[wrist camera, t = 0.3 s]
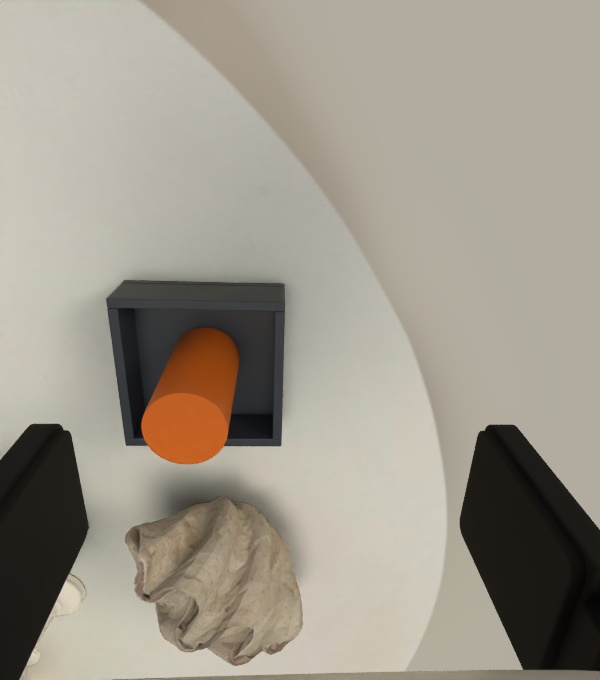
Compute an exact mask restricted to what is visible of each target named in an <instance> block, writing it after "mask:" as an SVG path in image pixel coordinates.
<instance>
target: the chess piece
mask: <svg viewBox="0 0 600 680" xmlns="http://www.w3.org/2000/svg"><path fill="white" fill-rule="evenodd" d="M84 597H85V589H84V587H83V585H82V583H81V582H80V581H79V580H78V579H77V578H75V577H74V576H72V575H70V574H69V575H68V577H67V579H66V581H65V583H64V586H63V588H62V590H61V592H60V594H59V596H58V598H57V600H56V603H55V605H54V607H53V609H52V611H51V613H50V615H49V618H48V620H47V622H46V624H45V626H44V628H43V630H42V633H41V635H40V637H39V639H38V641H37V643H36V645H35V648H36V646H37V645H38V643H39V641H40V639H41V638H42V636H43V634H44V633H45V631H46V629H47V628H48V626H49V624H50V623H51V621H52V620H53V618H54V617H55V616H64V615H68V614H70V613H72V612H74V611H75V610H77V609H78V608H79V606H80V604H81V602H82V601H83V599H84ZM35 648H34V650H33V652H32V654H31V656H30V658H29V660H28V662H27V665H26V667H25V669H24V671H23V673H22V675H21V677H20V680H26V675H27V668H28V666H31V665H34V664H35V663H36V662H37V661H38V660H39V658H40V653H39V652H38V650H37V649H35Z"/></svg>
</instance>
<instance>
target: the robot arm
mask: <svg viewBox="0 0 600 680" xmlns="http://www.w3.org/2000/svg"><path fill="white" fill-rule="evenodd" d="M460 529H461V534H462V536H463V538H464V541H465V543H466V545H467V547H468V549H469V551H470V554H471V556H472V558H473V560H474V563H475V565H476V567H477V569H478V571H479V573H480V576H481V578H482V580H483V582H484V584H485V587H486V589H487V591H488V593H489V595H490V598H491V600H492V602H493V604H494V606H495V609H496V611H497V613H498V615H499V617H500V619H501V622H502V624H503V626H504V628H505V630H506V632H507V635H508V637H509V639H510V641H511V644H512V646H513V648H514V650H515V652H516V655H517V657H518V659H519V661H520V663H521V666H522V668H523V670H471V671H470V670H469V671H467V670H466V671H418V672H366V673H325V674H285V675H248V676H210V677H177V678H146V679H114V680H600V530H599V528H598V527H597V526H596V525H595V524H594V522H593V521H592V520H591V518H590V517H589V516H588V515H587V514H586V512H585V511H584V510H583V509H582V507H581V506H580V505H579V504H578V502H577V501H576V500H575V499H574V497H573V496H572V495H571V494H570V493H569V492H568V490H567V489H566V487H565V486H564V485H563V484H562V483H561V481H560V480H559V479H558V478H557V476H556V475H555V474H554V473H553V471H552V470H551V469H550V468H549V467H548V465H547V464H546V463H545V461H544V460H543V459H542V458H541V456H540V455H539V454H538V453H537V452H536V450H535V449H534V448H533V446H532V445H531V444H530V443H529V442H528V440H527V439H526V438H525V437H524V435H523V434H522V433H521V432H520V430H519V429H518V428H517V427H516V426H515V425H489V426H487V427H486V429H485V431H480V432H479V434H478V437H477V441H476V446H475V451H474V455H473V460H472V464H471V469H470V474H469V479H468V483H467V488H466V492H465V497H464V502H463V506H462V511H461V516H460ZM87 530H88V520H87V515H86V510H85V505H84V500H83V494H82V489H81V484H80V479H79V473H78V468H77V463H76V458H75V452H74V447H73V442H72V437H71V433H70V432H69V431H64V430H63V428H62V426H61V425H59V424H32V425H30V426H29V427H28V428H27V429H26V430H25V431H24V433H23V434H22V435H21V436H20V437H19V439H18V440H17V441H16V442H15V443H14V445H13V446H12V447H11V448H10V449H9V451H8V452H7V453H6V454H5V455H4V456H3V458H2V459H1V460H0V680H20V677H21V675H22V673H23V671H24V669H25V667H26V665H27V662H28V660H29V658H30V656H31V654H32V652H33V650H34V648H35V645H36V643H37V641H38V639H39V637H40V635H41V633H42V630H43V628H44V626H45V624H46V622H47V620H48V618H49V615H50V613H51V611H52V609H53V607H54V605H55V603H56V600H57V598H58V596H59V594H60V592H61V590H62V588H63V586H64V583H65V581H66V579H67V577H68V575H69V573H70V571H71V568H72V566H73V564H74V562H75V560H76V558H77V556H78V553H79V551H80V549H81V547H82V545H83V543H84V541H85V538H86V535H87Z"/></svg>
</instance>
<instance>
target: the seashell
mask: <svg viewBox="0 0 600 680" xmlns="http://www.w3.org/2000/svg"><path fill="white" fill-rule="evenodd" d="M125 543H126V544H127V545H128V547H129V550H130V552H131V554H132V556H133V558H134V560H135V562H136V565H137V570H138V572H137V575H136V578H135V583H134V584H135V592H136V595H137V597H138V598H140V599H141V600H143V601H146V602H150V603H156V611H157V616H158V623H159V627H160V632H161V634H162V635H163V637H164V639H166V640H168V641H169V642H170V643H172V644H173V645H175V646H177V647H178V649H179V650H181V651H183V652H194V651H196V650H202V649H205V648H208V649H209V650H211V651H212V652H213V653H214V654H216V655H217V656H219V657H220V658H222V659H223V660H225V661H226V662H228V663H230V664H232V665H235V666H238V665H242V664H245V663H247V662H249V661H250V660H251V659H252V658H254V657H255V656H256V655H257V654H259V653H260V652H261V651H263V652H266V653H268V654H270V655H272V654H274V653H276V652H279V651H281V650H282V649H283V647H284V646H285V645H286V644H288V643H289V642H290V641H292V640H293V639H294V638H295V637H296V636H297V635H298V634H299V633H300V631H301V629H302V625H303V621H302V617H303V613H302V603H301V596H300V591H299V588H298V585H297V582H296V578H295V574H294V572H293V571H292V563H291V558H290V553H289V549H288V548H287V546H286V544H285V543H284V541H283V540H282V538H281V536H280V535H279V534H278V533H277V532H276V530H275V529H274V528H273V527H271V526H270V525H269V524H268V523H267V521H266V519H265V518H264V516H263V515H262V513H261V512H260V511H259V510H257V509H256V508H255V507H253V506H252V505H249V504H246V503H241V502H233V503H232V502H231V501H230V500H229V499H228V498H227V497H223V496H220V497H218V498H216V499H215V500H214V501H212V502H210V503H201V504H195V505H193V506H191V507H189V508H187V509H185V510H184V511H182V512H178V513H175V514H173V515H171V516H169V517H168V518H165V519H162V520H158V521H155V522H152V523H144V524H141V525H138V526H134V527H132V528H131V529H130V530H129V531H128V533H127V534H126V537H125Z"/></svg>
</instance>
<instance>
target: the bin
mask: <svg viewBox="0 0 600 680" xmlns="http://www.w3.org/2000/svg"><path fill="white" fill-rule="evenodd" d="M106 301H107V307H108V316H109V324H110V331H111V339H112V346H113V353H114V361H115V368H116V376H117V383H118V391H119V398H120V405H121V413H122V420H123V428H124V435H125V442H126V445H127V446H148V445H147V443H146V441H145V440H144V437H143V434H142V429H141V423H142V418H143V415H144V413H145V410H146V408H147V406H148V404H149V402H150V400H151V397H152V395H153V393H154V391H155V389H156V387H157V384H158V382H159V380H160V378H161V376H162V374H163V372H164V369H165V367H166V365H167V363H168V361H169V359H170V356H171V354H172V352H173V350H174V348H175V346H176V344H177V342H178V340H179V339H180V338H181V337H182V336H183V335H184V334H185V333H187V332H188V331H190V330H193V329H196V328H201V327H208V328H214V329H217V330H220V331H222V332H224V333H225V334H227V335H228V336H229V337H230V338H231V339H232V340H233V341H234V342H235V344H236V346H237V348H238V350H239V356H240V361H239V368H238V374H237V380H236V386H235V393H234V399H233V405H232V411H231V417H230V423H229V430H228V435H227V440H226V442H225V444H224V446H281V437H282V399H283V360H284V321H285V291H284V284H265V283H222V282H179V281H135V280H124V281H123V282H122V283H121V284H120V285H119V286H118V287H117V288H116V289H115V290H114V291H113V292H112V294H111V295H110V296H109V297H108V298H107V299H106Z"/></svg>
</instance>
